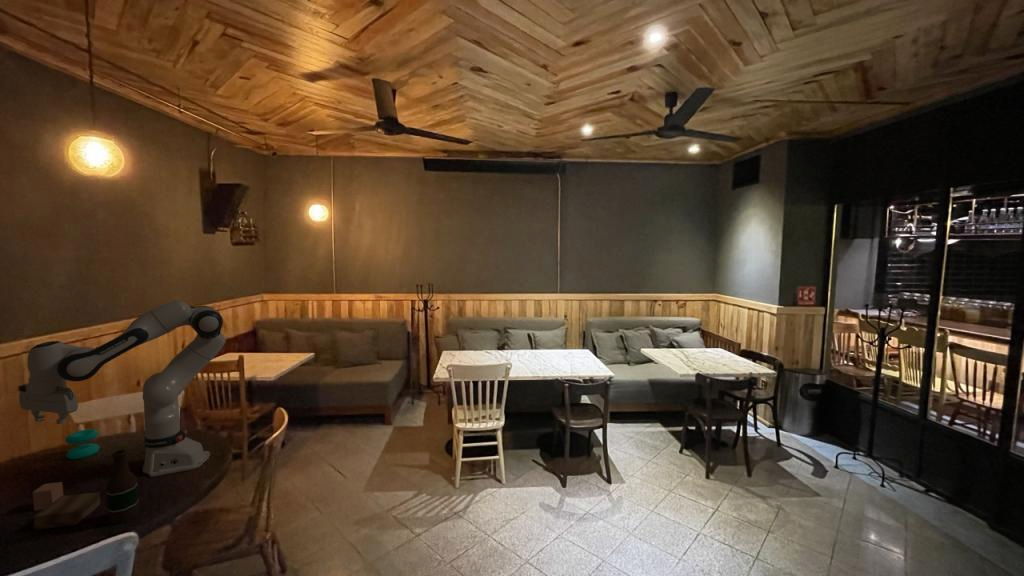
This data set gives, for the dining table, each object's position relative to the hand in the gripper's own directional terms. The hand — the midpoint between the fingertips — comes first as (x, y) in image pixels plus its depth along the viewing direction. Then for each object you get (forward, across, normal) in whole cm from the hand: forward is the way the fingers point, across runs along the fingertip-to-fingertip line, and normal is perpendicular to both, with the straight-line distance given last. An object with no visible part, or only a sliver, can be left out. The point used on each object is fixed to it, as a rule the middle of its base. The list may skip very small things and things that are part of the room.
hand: (50, 422), depth 145 cm
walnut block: (+29, -19, +9) cm, 35 cm away
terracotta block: (+28, -5, +5) cm, 29 cm away
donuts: (+28, +23, -25) cm, 44 cm away
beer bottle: (+28, -38, +6) cm, 47 cm away
